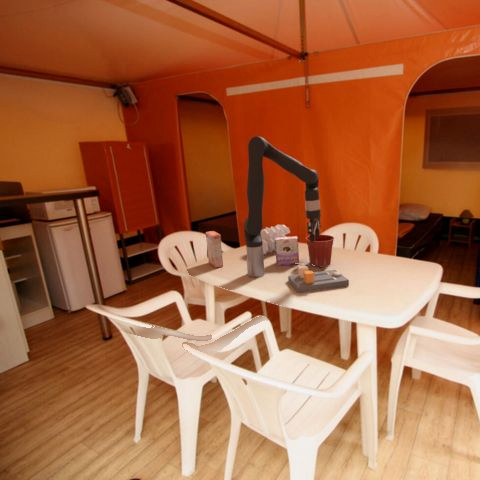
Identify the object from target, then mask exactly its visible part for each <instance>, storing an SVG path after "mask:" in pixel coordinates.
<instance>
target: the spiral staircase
mask: <svg viewBox="0 0 480 480" xmlns="http://www.w3.org/2000/svg"><path fill="white" fill-rule="evenodd" d="M290 233H291V231H290V227H287V226H286V225H285V224H277V225H275V226H270V227H267V226H266V227H265V228H262V230H261V238H262V242H263V255H267V253H273V251H274V252H276V248H275V238H276V237H287V236H286V235H288V234H290Z"/></svg>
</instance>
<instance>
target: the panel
mask: <svg viewBox="0 0 480 480" xmlns="http://www.w3.org/2000/svg"><path fill="white" fill-rule="evenodd" d="M312 272H313V271H312ZM313 273H314V283H309V284H306V283H305V282H304V278H300V277H299V275H298V274H291V275H288V276H287V278H288V279H287V280H288V283H289V284H290V285H291V287H293V289H295V291H296V292H297V293H299V294H300V293H306V292H307V293H308V292H312V291H313V292H314V291H319V290H320V291H322V290H328V289H329V290H330V289H335V288H341V287H342V288H343V287H348V286H350V280H349V278H347V277H345V276H344V275H343V274H342V272H340V271H338V270H336V269H329V270H322V271H321V270H320V271H314V272H313Z"/></svg>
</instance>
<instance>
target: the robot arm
mask: <svg viewBox="0 0 480 480" xmlns="http://www.w3.org/2000/svg"><path fill="white" fill-rule="evenodd" d="M247 151H248V152H247V153H248V155H247V156H248V169H247V182H246V197H247V199H246V200H247V204H248V212H247V213H248V214H247V218H245V220H244V223H243V231H244V240H245V245H246V248H245V249H246V269H247V270H246V271H247V275H248V277H250V278H258V277H259V278H260V277H262V276H263V277H264V275H265V274H266V273H265V264H264V263H265V262H264V260H265V259H264V254H263V242H262V238H261V230H263V205H264V193H265V174H264V169H263V168H264V166H263V161H264V158H266V159H269V160H270V161H272V162H273V163H275V164H277V165H278V166H279V167H280V168H282V169H283V170H285V171H286V172H289V173H290V175H293V176H295V177H296V178H298V179H299V180H300V181H301V182H303V183H305V191H304V199H305V202H304V204H305V205H304V207H305V218H306V219H309V221H308V222H307V224H306V227H307V234H308V235H309V236H310V241H315V236H316V237H319V236H320V235H321V234H320V230H321V228H322V227H321V226H322V225H321V217H322V212H321V202H320V201H321V200H320V192H319V191H320V190H319V177H320V176H319V173H318V172H317V170H315V169H312V168H309V167H307V166H306V165H303V163H302V162H301V161H299V160H298V159H295V158H294V157H292V156H290V155H289V154H285V153H284V152H283V151H280V150H279V149H278V148H275V147H274V146H273V144H271V143H269V141H267V140H266V139H265V138H264V137H262V136H259V135H256V136H255V135H254V136H253V137H251V138H250V140H249V141H248V144H247ZM314 235H315V236H314Z"/></svg>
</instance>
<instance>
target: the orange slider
mask: <svg viewBox="0 0 480 480" xmlns="http://www.w3.org/2000/svg"><path fill="white" fill-rule="evenodd" d="M303 274H304V282H305V283H306V284H309V283H314V273H313V271H312V270H308V271H304V272H303Z"/></svg>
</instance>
